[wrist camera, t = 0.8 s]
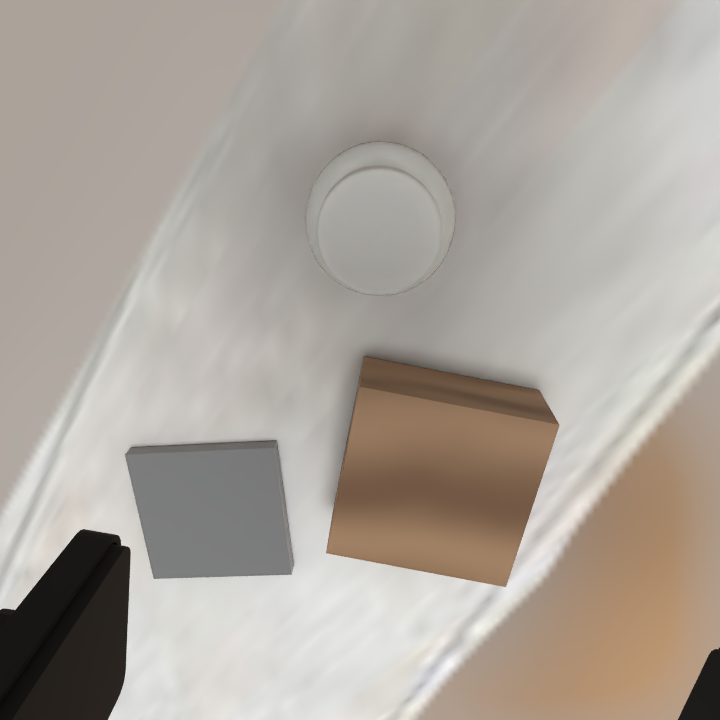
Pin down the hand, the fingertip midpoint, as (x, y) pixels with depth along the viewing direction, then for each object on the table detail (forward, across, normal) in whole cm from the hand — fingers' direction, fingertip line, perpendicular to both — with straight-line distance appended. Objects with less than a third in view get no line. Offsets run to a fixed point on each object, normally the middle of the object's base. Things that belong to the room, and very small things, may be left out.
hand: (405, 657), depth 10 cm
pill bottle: (+22, +2, -5) cm, 22 cm away
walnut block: (+21, -3, +7) cm, 23 cm away
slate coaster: (+21, +8, +13) cm, 26 cm away
